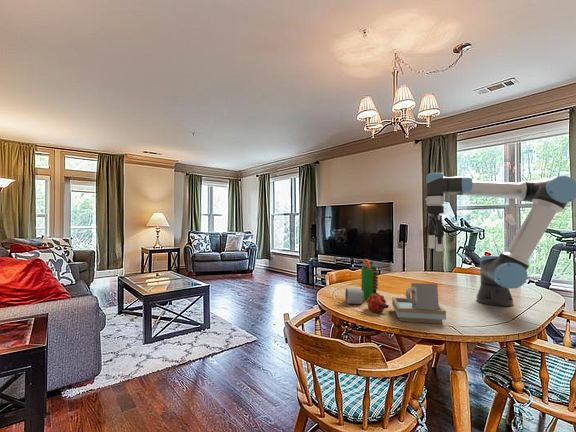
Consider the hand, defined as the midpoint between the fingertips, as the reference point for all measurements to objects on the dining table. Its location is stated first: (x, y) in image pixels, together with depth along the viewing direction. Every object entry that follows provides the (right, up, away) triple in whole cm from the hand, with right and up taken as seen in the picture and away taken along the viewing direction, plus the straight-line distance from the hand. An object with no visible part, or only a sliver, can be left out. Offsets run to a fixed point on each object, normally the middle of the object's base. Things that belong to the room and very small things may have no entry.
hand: (435, 249), depth 150 cm
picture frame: (-16, -27, -16) cm, 35 cm away
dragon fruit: (-30, -27, -8) cm, 41 cm away
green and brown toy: (-27, -27, +16) cm, 42 cm away
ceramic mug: (-38, -27, +6) cm, 47 cm away
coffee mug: (-16, -22, -22) cm, 35 cm away
